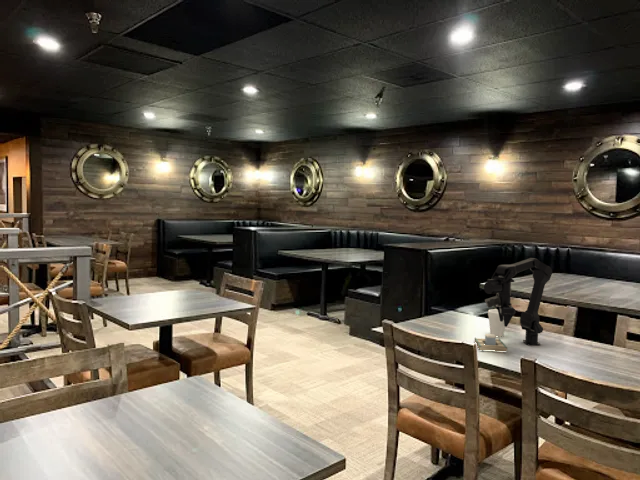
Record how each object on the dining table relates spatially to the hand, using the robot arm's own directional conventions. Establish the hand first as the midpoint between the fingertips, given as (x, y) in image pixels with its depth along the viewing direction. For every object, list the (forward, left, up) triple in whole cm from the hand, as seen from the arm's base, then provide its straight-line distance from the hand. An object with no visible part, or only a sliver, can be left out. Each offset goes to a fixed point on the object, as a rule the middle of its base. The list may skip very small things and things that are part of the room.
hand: (503, 323), depth 232 cm
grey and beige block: (0, -6, -12) cm, 13 cm away
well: (0, -6, -12) cm, 13 cm away
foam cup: (-21, +2, -12) cm, 24 cm away
